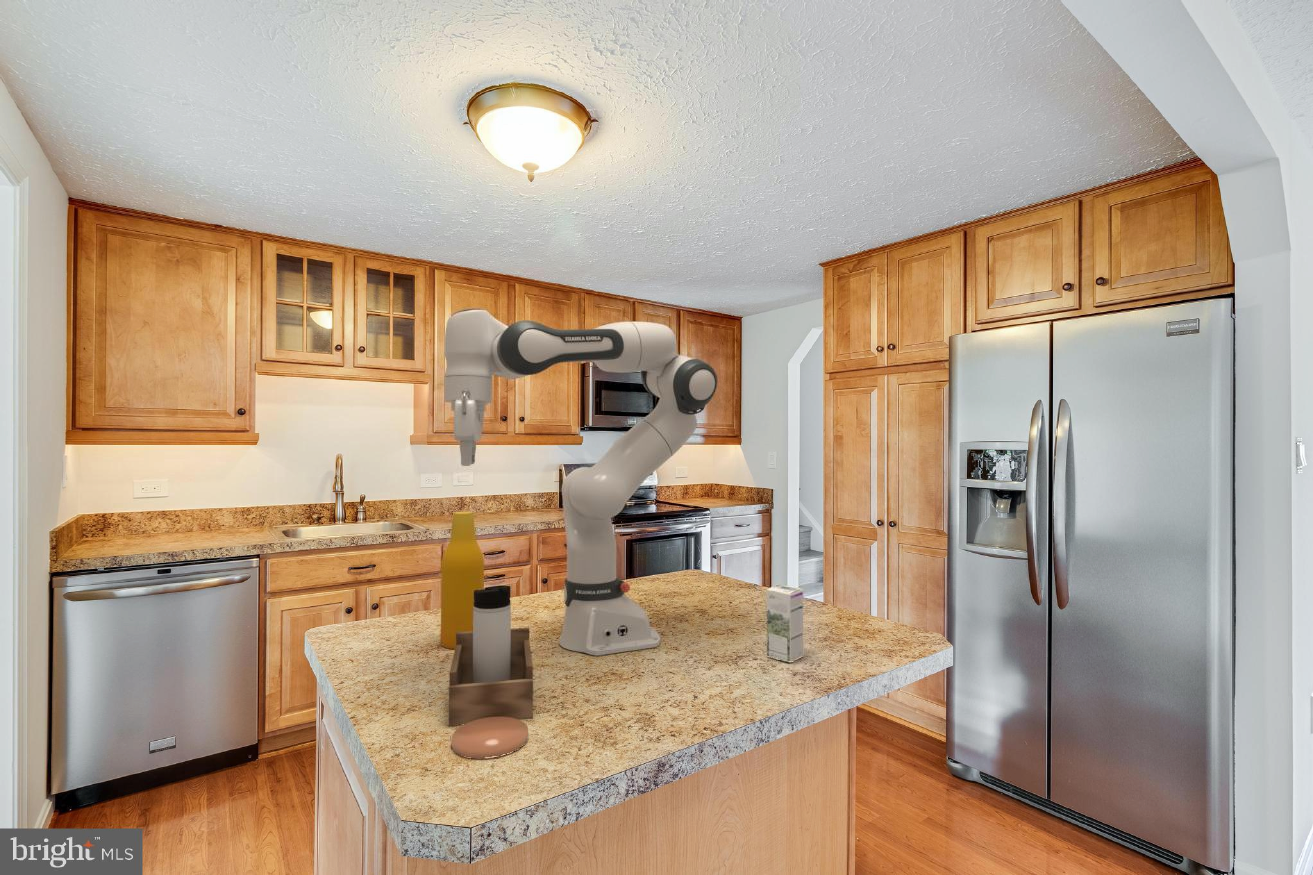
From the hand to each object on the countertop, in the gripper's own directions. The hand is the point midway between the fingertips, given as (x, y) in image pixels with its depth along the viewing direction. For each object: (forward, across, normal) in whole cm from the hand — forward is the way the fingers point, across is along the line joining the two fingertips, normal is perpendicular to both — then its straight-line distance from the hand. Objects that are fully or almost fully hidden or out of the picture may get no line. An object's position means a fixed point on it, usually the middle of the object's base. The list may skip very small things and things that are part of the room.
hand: (468, 465), depth 120 cm
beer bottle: (+40, +20, +3) cm, 45 cm away
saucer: (+40, -28, -5) cm, 50 cm away
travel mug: (+40, -14, -5) cm, 43 cm away
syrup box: (+41, -4, -64) cm, 76 cm away
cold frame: (+40, -14, -5) cm, 43 cm away
